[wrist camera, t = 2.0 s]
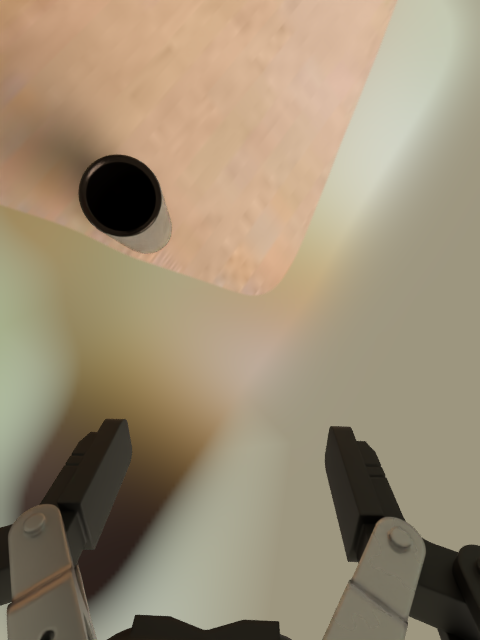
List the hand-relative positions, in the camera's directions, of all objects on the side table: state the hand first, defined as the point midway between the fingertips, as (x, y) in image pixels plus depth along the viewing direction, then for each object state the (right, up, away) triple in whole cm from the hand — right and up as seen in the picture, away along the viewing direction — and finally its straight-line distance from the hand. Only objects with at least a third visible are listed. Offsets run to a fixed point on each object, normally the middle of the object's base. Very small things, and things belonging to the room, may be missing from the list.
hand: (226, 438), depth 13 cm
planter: (-8, +13, +16) cm, 22 cm away
